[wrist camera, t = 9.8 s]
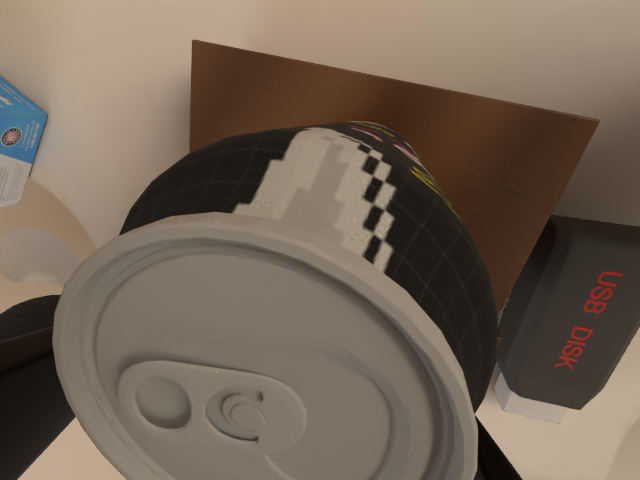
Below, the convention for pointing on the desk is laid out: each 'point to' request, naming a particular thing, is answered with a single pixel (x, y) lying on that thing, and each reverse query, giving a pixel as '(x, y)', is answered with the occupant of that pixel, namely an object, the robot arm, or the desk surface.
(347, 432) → the beverage can
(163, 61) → the desk surface
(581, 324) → the usb drive
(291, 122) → the step shelf
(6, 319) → the light bulb
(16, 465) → the robot arm
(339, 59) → the desk surface
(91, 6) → the desk surface
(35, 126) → the ink box
